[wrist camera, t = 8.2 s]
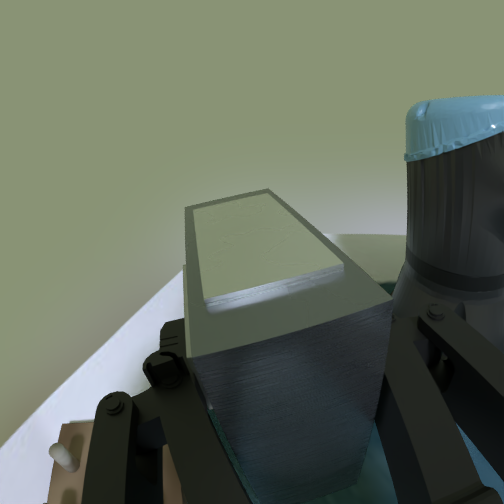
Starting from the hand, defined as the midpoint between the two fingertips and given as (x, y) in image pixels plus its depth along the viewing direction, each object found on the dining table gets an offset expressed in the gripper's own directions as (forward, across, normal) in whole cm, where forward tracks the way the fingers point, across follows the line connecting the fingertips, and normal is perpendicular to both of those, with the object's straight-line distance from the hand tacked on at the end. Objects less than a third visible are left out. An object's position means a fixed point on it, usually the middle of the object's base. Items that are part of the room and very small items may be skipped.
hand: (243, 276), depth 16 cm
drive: (-4, 0, -6) cm, 7 cm away
